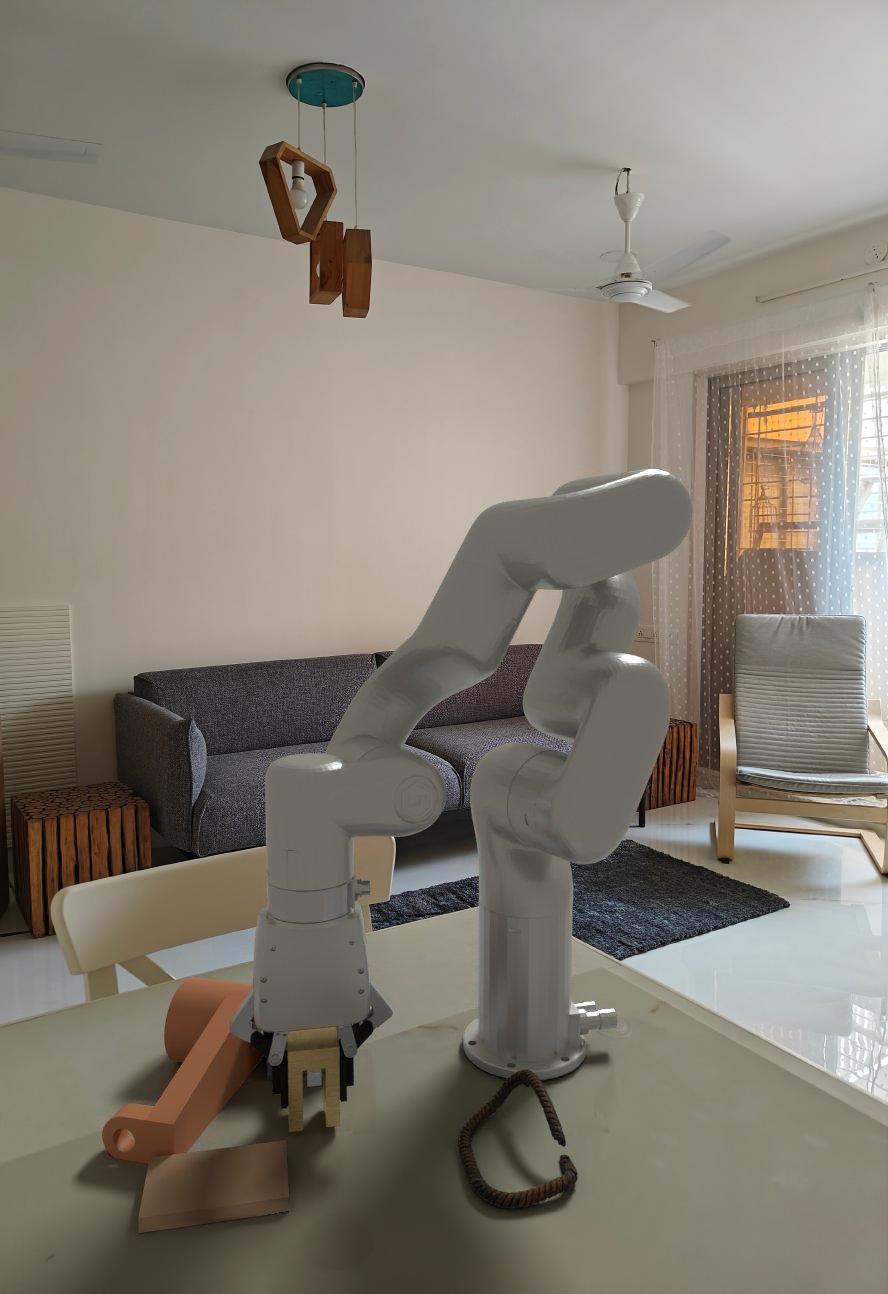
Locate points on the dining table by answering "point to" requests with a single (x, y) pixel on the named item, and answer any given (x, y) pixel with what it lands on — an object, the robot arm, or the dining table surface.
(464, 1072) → the dining table surface
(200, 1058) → the crank
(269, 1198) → the board
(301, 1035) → the yellow arch block
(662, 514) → the robot arm
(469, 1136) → the brown twisted loop
